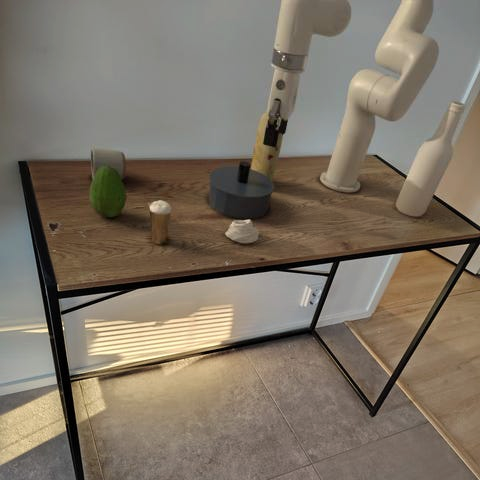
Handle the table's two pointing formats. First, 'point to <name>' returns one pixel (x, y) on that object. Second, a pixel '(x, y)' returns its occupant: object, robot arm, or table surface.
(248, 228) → the whipped cream
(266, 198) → the pot
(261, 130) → the food model
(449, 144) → the alcohol
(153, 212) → the milkshake
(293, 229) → the table surface
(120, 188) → the avocado
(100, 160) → the ceramic mug
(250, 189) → the pot lid
